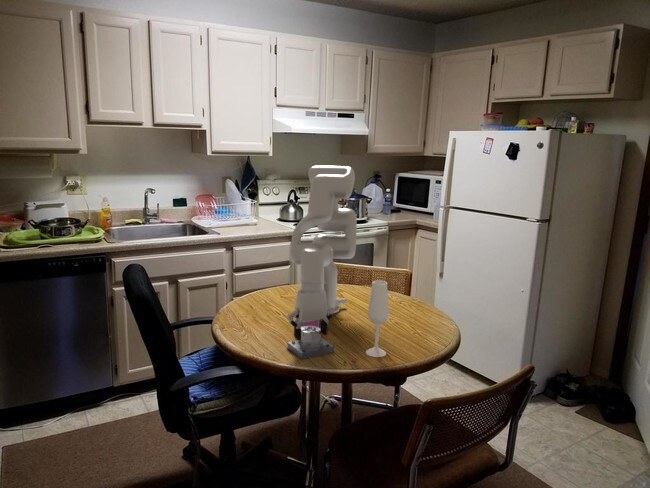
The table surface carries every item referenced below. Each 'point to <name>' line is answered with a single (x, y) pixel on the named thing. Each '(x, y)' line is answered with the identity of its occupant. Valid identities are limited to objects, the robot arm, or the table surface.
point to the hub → (310, 336)
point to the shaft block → (310, 352)
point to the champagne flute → (378, 313)
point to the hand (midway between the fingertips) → (310, 336)
